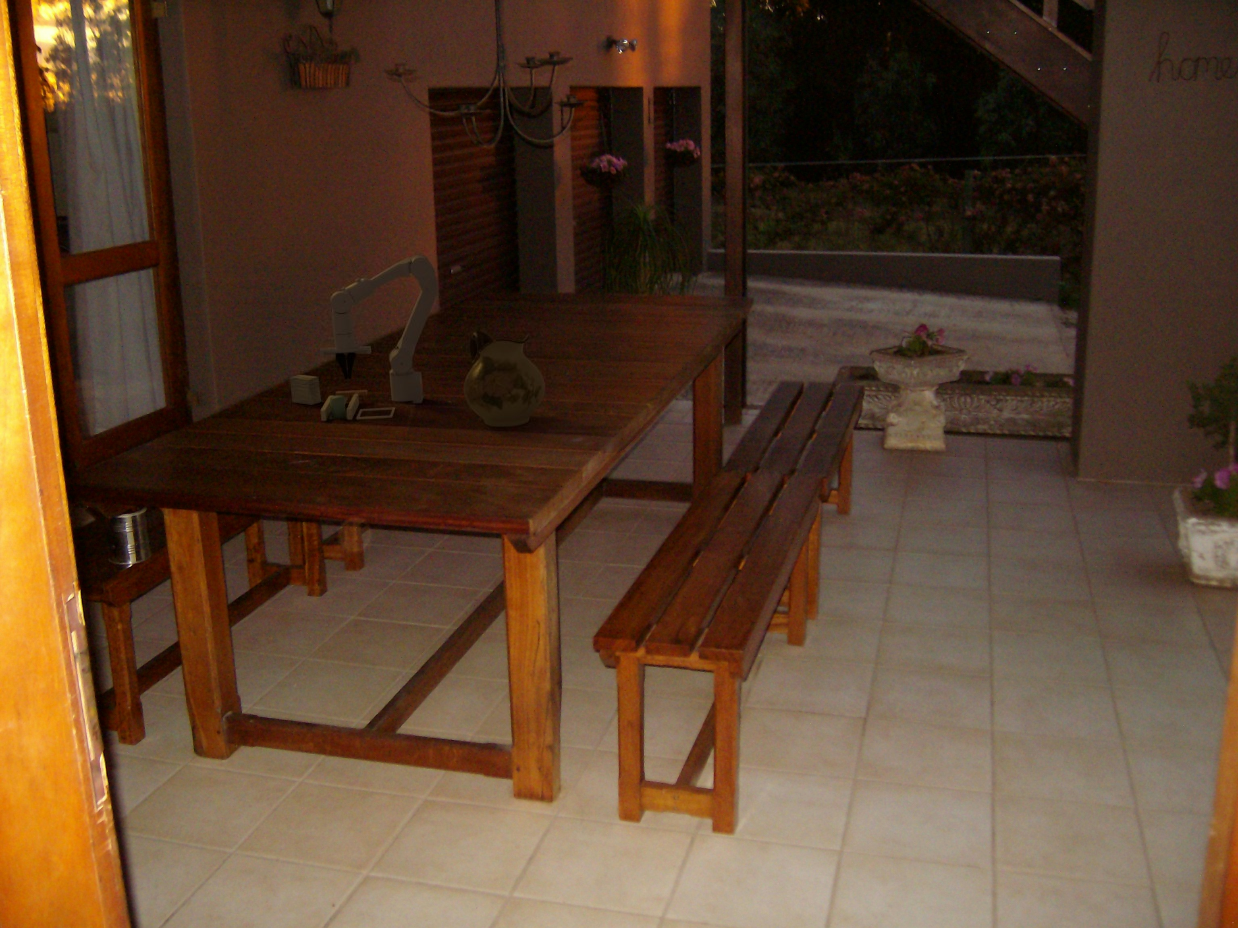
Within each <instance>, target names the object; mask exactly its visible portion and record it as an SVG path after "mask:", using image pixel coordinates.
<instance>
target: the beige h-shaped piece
mask: <svg viewBox="0 0 1238 928" xmlns="http://www.w3.org/2000/svg"><path fill="white" fill-rule="evenodd" d="M332 396H333V395H328V397H327V399H326V401H325V402H324V404H323V406H322V407H321V409H320V416H321V418H320V419H321V422H326V421H327V420H328V419H329V417H330V415H331V404H330V397H332ZM359 405H360V399H359V395H358V394H354V395H353V396H351V399H350V400H349V404H348V406H347V408H346V413H347V418H346V419H347V421H348V420H353V418H354V417H355V416H354V415H355V414H356V411H357V409H358V407H359Z"/></svg>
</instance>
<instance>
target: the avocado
mask: <svg viewBox="0 0 1238 928" xmlns="http://www.w3.org/2000/svg"><path fill="white" fill-rule="evenodd" d="M331 396H332V397H330V404H331V413H330V415H331V414H332V417H334V418H340V417H345V416H346V413H347V409H346V403H345V399H344V396H340V395H339V396H336V395H331ZM340 419H341V418H340Z"/></svg>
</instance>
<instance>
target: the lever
mask: <svg viewBox="0 0 1238 928" xmlns="http://www.w3.org/2000/svg"><path fill="white" fill-rule="evenodd" d="M334 394H335V395H334V396H339V395H340V396H344V399H345V404H346V403H347V401H348V399H349V397H353V395H354V394H358V396H367V395H368V389H359V390H357V389H355V390H338V391H336V392H335V393H334ZM338 419H339V420H340V419H347V412H346V416H345V417H340V418H334V417H332V414H331V413H330V414H329V416H328V420H338Z"/></svg>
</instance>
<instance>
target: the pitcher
mask: <svg viewBox="0 0 1238 928" xmlns="http://www.w3.org/2000/svg"><path fill="white" fill-rule="evenodd" d="M530 337H531V333H528V334H527V335H526V336H525V338H523V340H522V341H517V340H511V339H504V338H500V339H495V340H494V339H493V338H492V337H491V336H490V335H489V334H488V333H486V332H484V331H482V330H480V329H476V330H474V332H473V333H472V334H471V336H470V339H469V353H470V358H471V361H472V362H471V364H470V370H469V372H468V373H467V375H466V377H465V380H464V382H463V394H464V398H465V400H466V402H467V405H468V406H469V407H470V408H471V410H472V411H473V412H474V413H475V414H476V415H477V416H479V417H480V418H481V419H482V420H483V422H484V424H486V426H488V427H493V428H513V427H518V426H522V425H525V424H527V423H529V421H530V417H531V415H532V414H533V413H534V412H535V411H536V409H537V408H538V407H539V406H540V404H541V402H542V400H543V398H544V396H545V391H546V383H545V378H544V377H543V374H542V373H541V371H540V370H539V369H538V367H537V366H536V365H535V364H534V363H532V361H531V360H530V359H529V358H528V357H526V355H525V354H524V345H525V344H526V343H527V342H528V340H529V339H530Z"/></svg>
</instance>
